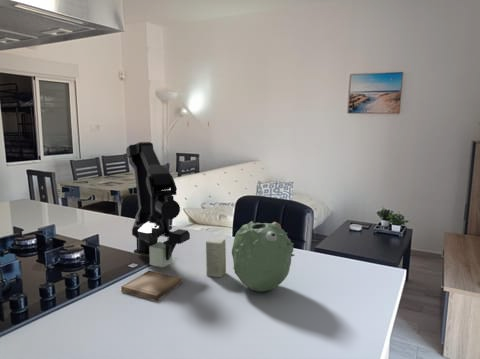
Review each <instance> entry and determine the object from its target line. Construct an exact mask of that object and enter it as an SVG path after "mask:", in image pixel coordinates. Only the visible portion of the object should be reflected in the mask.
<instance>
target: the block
mask: <svg viewBox="0 0 480 359" xmlns="http://www.w3.org/2000/svg"><path fill="white" fill-rule="evenodd" d="M149 249H150V254H149V265H150V266H155V267H157V268H158V267H159V268H165V267H166V266H168V265H169V264H171V263H173V253H172V254H171V257H170V259H169V260H168V261H167V260H166V245H165V244H164V243H163V242H162V241H158V242H157V243H156V244H154V245H152V246H150V247H149Z"/></svg>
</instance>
